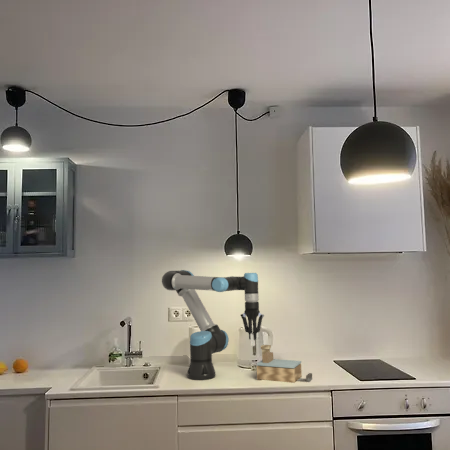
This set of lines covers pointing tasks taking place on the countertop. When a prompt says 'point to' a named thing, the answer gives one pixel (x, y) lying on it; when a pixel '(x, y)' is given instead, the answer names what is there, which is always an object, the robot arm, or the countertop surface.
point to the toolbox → (282, 374)
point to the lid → (277, 361)
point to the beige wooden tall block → (265, 349)
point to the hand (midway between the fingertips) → (253, 345)
